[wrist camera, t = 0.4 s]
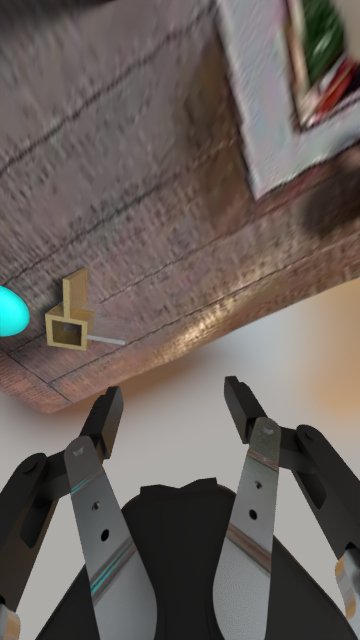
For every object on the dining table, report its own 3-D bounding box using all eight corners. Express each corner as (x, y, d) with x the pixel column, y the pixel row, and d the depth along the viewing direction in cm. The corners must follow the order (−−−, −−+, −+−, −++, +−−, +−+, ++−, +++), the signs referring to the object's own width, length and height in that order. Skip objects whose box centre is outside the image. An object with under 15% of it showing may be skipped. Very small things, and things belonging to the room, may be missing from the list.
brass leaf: (67, 263, 28) (41, 274, 22) (103, 272, 30) (89, 284, 24) (68, 323, 34) (47, 345, 28) (99, 329, 35) (86, 350, 29)
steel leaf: (67, 296, 31) (45, 313, 25) (133, 310, 34) (127, 328, 28) (68, 323, 34) (47, 345, 28) (129, 334, 36) (122, 356, 30)
